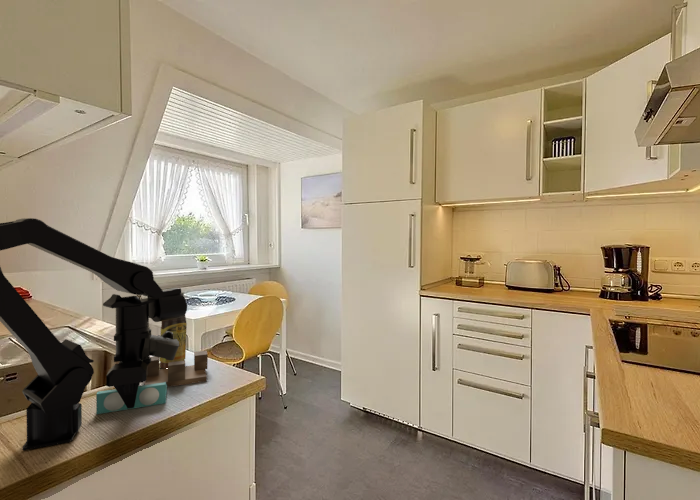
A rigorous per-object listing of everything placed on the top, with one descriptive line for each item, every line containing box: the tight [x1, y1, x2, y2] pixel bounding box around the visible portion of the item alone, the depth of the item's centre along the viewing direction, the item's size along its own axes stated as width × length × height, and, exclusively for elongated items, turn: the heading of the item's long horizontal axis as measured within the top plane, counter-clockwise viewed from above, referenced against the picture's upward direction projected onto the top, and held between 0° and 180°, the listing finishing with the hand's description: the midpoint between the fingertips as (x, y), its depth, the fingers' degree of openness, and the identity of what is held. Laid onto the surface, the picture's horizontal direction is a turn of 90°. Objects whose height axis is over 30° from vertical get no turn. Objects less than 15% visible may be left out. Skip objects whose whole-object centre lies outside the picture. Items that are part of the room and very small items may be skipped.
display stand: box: [144, 350, 209, 388], centre depth 87 cm, size 14×9×5 cm, turn 116°
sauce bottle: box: [159, 291, 188, 369], centre depth 95 cm, size 7×6×20 cm
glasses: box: [95, 382, 168, 415], centre depth 75 cm, size 12×8×4 cm, turn 116°
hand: (132, 402), depth 72 cm, fingers open, 5 cm apart
